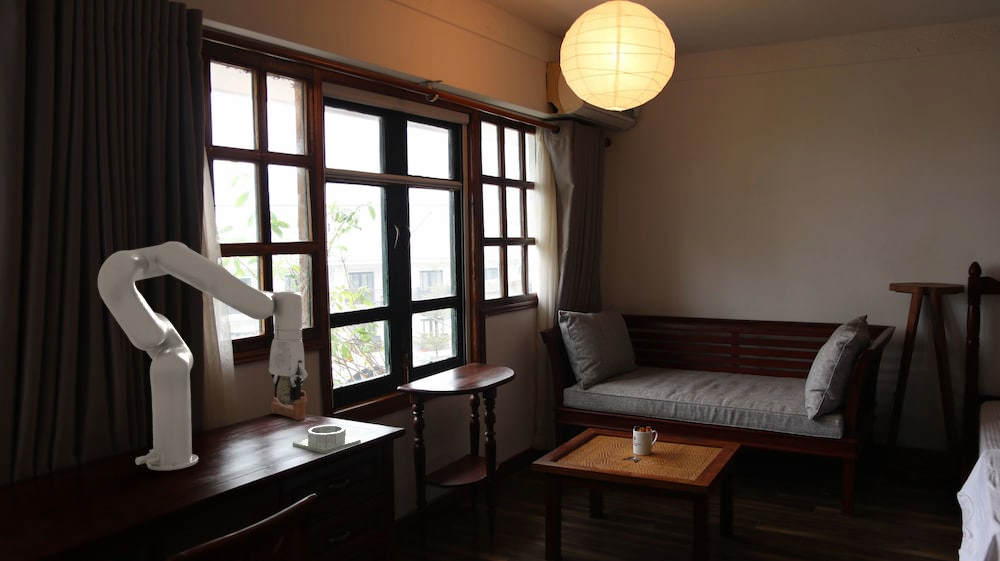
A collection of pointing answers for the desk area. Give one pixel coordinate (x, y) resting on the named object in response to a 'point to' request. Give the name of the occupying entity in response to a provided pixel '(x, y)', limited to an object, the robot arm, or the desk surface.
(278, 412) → the pipe
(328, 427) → the duct collar
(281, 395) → the decorative egg
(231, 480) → the desk surface
